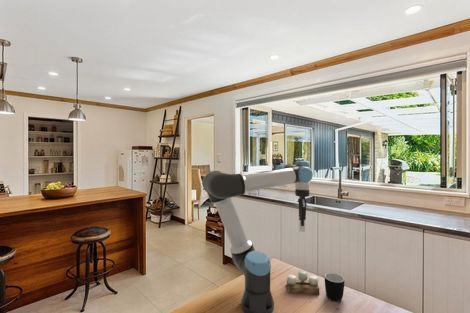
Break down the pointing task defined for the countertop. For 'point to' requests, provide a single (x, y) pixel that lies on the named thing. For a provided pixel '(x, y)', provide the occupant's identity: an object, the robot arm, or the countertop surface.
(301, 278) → the knob mid
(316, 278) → the knob right
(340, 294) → the mug
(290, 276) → the knob left
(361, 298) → the countertop surface
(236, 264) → the robot arm
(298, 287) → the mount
